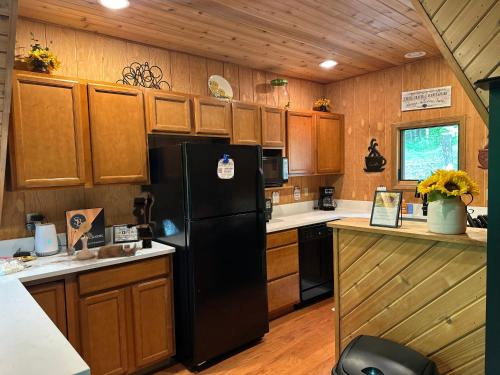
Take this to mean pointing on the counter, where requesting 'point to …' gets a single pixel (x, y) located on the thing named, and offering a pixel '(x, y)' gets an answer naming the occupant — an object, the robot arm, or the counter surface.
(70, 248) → the reed diffuser
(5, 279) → the counter surface
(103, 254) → the housing
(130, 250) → the coaster
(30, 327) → the counter surface
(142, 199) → the robot arm
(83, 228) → the flower in vase
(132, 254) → the grey jagged bowl
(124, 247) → the riser
